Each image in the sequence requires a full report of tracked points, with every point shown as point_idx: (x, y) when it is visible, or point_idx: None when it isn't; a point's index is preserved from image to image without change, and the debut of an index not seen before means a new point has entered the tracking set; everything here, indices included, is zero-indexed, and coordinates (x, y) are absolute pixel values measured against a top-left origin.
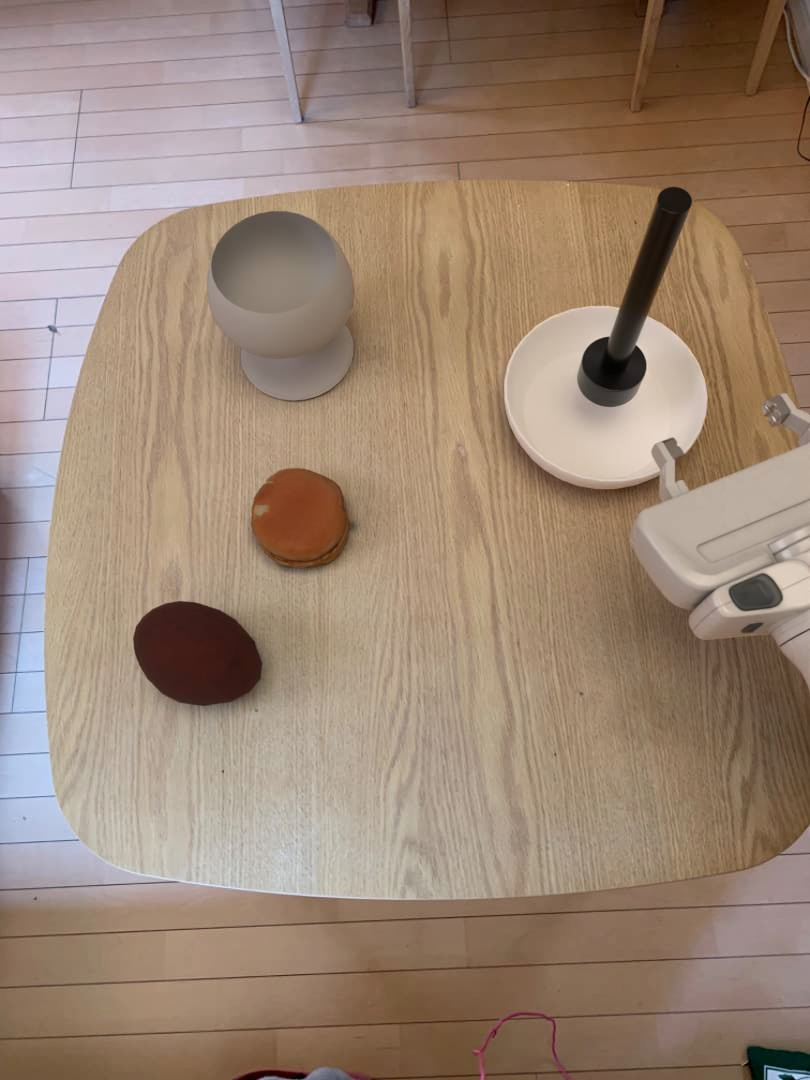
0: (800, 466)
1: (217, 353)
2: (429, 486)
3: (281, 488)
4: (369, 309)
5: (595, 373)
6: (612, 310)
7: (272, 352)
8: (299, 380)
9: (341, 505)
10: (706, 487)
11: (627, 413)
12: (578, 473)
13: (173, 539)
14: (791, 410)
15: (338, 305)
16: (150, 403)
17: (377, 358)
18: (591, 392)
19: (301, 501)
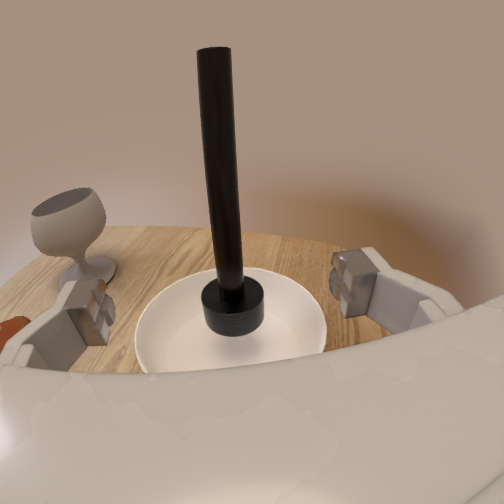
0: (388, 399)
1: (60, 270)
2: (88, 365)
3: (10, 321)
4: (133, 266)
5: (210, 297)
6: (263, 272)
7: (38, 245)
8: None
9: None
10: (25, 371)
11: (263, 358)
12: None
13: None
14: (379, 269)
15: (72, 224)
16: (26, 281)
17: (118, 288)
18: (206, 316)
19: (10, 331)
